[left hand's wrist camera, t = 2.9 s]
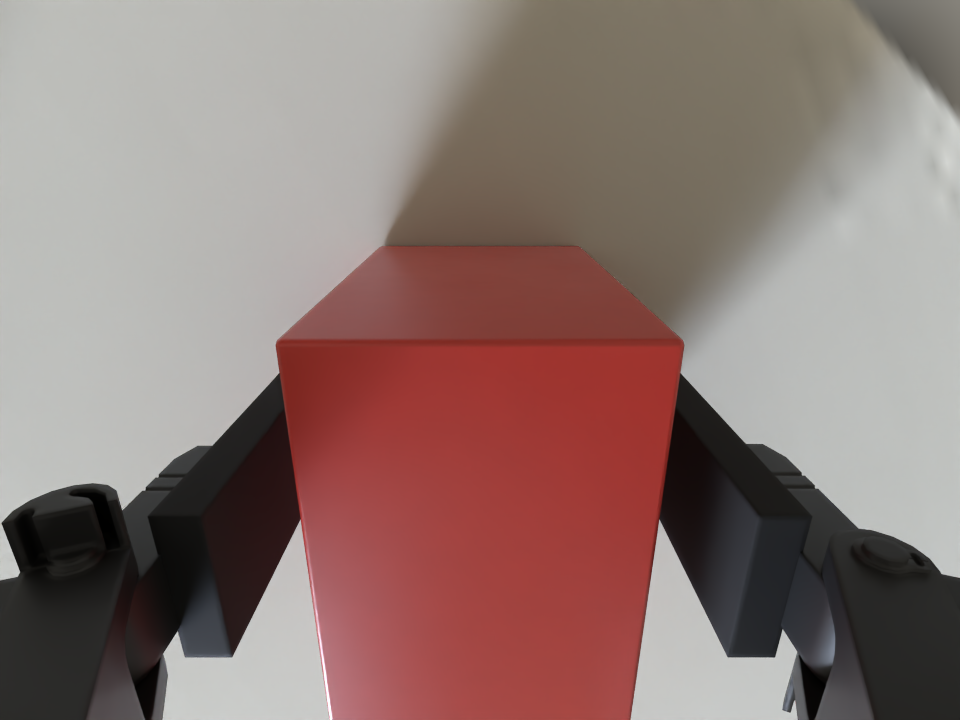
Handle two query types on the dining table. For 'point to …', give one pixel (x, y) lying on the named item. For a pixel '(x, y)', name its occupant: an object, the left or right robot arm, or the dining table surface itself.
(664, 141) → the dining table surface
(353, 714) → the block
